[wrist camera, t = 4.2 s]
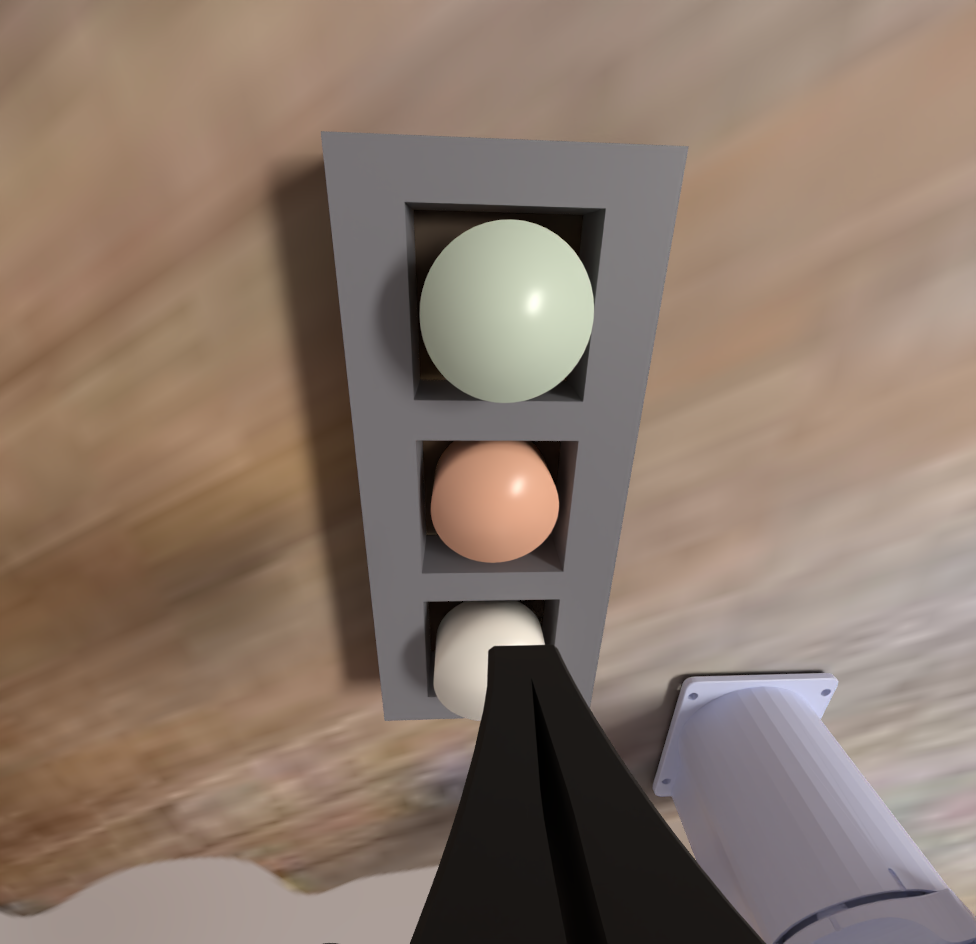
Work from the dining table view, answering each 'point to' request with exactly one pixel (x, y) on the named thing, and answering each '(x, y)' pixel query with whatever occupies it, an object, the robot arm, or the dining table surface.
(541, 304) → the sage button
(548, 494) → the terracotta button
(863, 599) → the dining table surface
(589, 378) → the button board
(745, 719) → the robot arm
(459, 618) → the cream button
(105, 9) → the dining table surface
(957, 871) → the dining table surface
